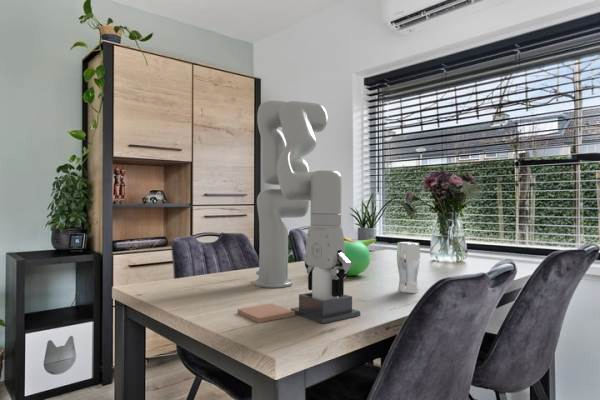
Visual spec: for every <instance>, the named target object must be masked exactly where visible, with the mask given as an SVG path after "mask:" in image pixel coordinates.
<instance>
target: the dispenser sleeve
mask: <svg viewBox="0 0 600 400" xmlns="http://www.w3.org/2000/svg"><path fill="white" fill-rule="evenodd" d="M290 310H292V311H295V315H296V314H297V315H296V316H299V315H300V316H299V317H303V318H304V319H307V318H308V319H307V320H310V319H311V320H310V321H313V320H314V321H313V322H316V321H317V322H316V323H318V322H319V324H321V323H324V324H327V323H328V322H329V323H333V322H337V320H338V321H343V320H347V319H350V318H351V319H352V318H354V317H360V316H361V310H357V309H354V308H353V296H351V295H348V294H345V293H344V294H343V295H342V296H339V298H335V299H330V300H324V301H323V300H320V299H316V298H313V297H312V292H306V293H299V294H298V306H297V307H292V308H290ZM346 318H347V319H346ZM332 321H333V322H332Z"/></svg>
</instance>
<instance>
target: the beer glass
mask: <svg viewBox="0 0 600 400" xmlns="http://www.w3.org/2000/svg"><path fill="white" fill-rule="evenodd" d="M396 248H397V249H396V263H397V264H396V265H397V270H398V271H397V272H398V276H399V280H398V288H397V291H398V292H399V293H403V294H417V293H419V287H418V275H419V269H420V264H421V263H420V262H421V251H420V242H417V241H416V242H413V241H398V242H397V246H396Z"/></svg>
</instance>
